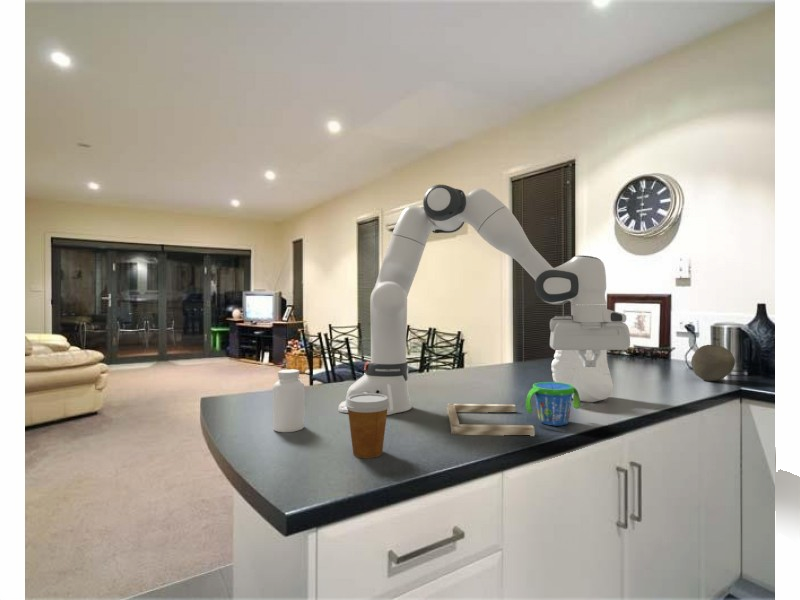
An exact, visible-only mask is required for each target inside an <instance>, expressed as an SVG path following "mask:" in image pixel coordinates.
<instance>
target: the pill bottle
mask: <svg viewBox="0 0 800 600" xmlns="http://www.w3.org/2000/svg"><path fill="white" fill-rule="evenodd" d="M277 377H278V380H277V381H276V382H275V383H274V384H273V386H272V387H273V388H272V428H273V430H274V431H275V432H278V433H293V432H298V431H302V430H303V429H304V427H305V406H306V405H305V403H306V401H305V396H306V395H305V389H306V388H305V384H304V382H303V381H302V380H300V370H299V369H293V368H291V369H282V370H278V372H277Z"/></svg>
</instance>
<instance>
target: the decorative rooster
mask: <svg viewBox="0 0 800 600" xmlns="http://www.w3.org/2000/svg"><path fill="white" fill-rule="evenodd" d="M554 351H555V352H554V354H553V358H554V359H553V360H552V362H551V364H550V365H551V369H550V370H551V372H552V374H551V375H552V380H553V381H552V382H558V383H565V384H569V385H572V386H573V387H574V388H575V389H576V390H577V391H578V394H579V398H580V402H585V403H594V402H599V401H602V400H606V399H608V398H609V397H610V396H611V395H612V393H613V390H614V385H613V379H612V377H611V372H610V370H609V364H608V356H607V354H608V352H607V351H608V350H600V356H599V357H598V359H597V360H596V367H584V366H583V360H582V358H581V357H580V355H579V354H578V350H554ZM584 355H585V357H586V358H587V360H591V359H592V357H593V355H594V354H593V353H592V350H586V354H584ZM572 399H573V394H572Z"/></svg>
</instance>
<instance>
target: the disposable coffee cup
mask: <svg viewBox="0 0 800 600" xmlns="http://www.w3.org/2000/svg"><path fill="white" fill-rule="evenodd" d="M389 404H390V403H389V402H388V398H387V396H385V395H381V394H357V395H352V396H350V397H348V400H347V403H346V406H347V409H348V420H349V429H350V439H351V447H352V454H353V456H355V457H357V458H361V459H373V458H377V457H380V456H381V455H383V448H384V440H385V433H386V425H387V424H386V423H387V416H388V415H387V409H388V407H389Z"/></svg>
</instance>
